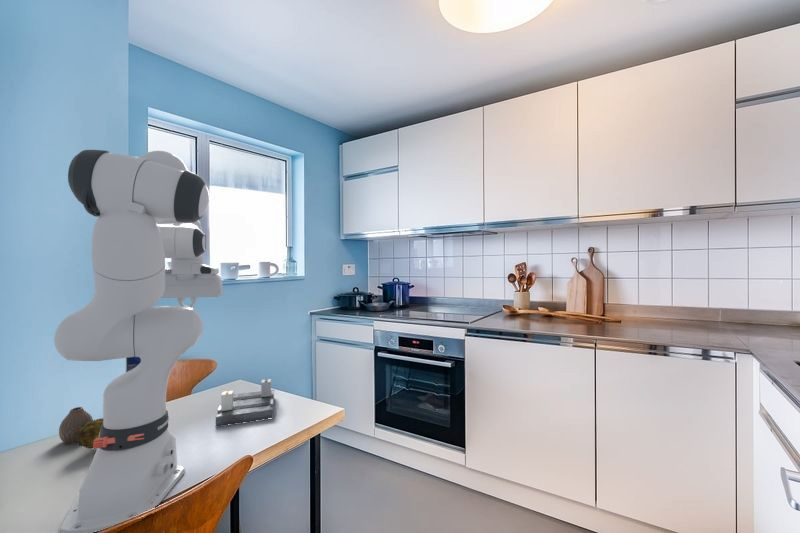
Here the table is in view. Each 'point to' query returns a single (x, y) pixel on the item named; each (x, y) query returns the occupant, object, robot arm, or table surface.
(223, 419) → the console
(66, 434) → the vase
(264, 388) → the fader
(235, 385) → the table surface
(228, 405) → the fader
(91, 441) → the potato
